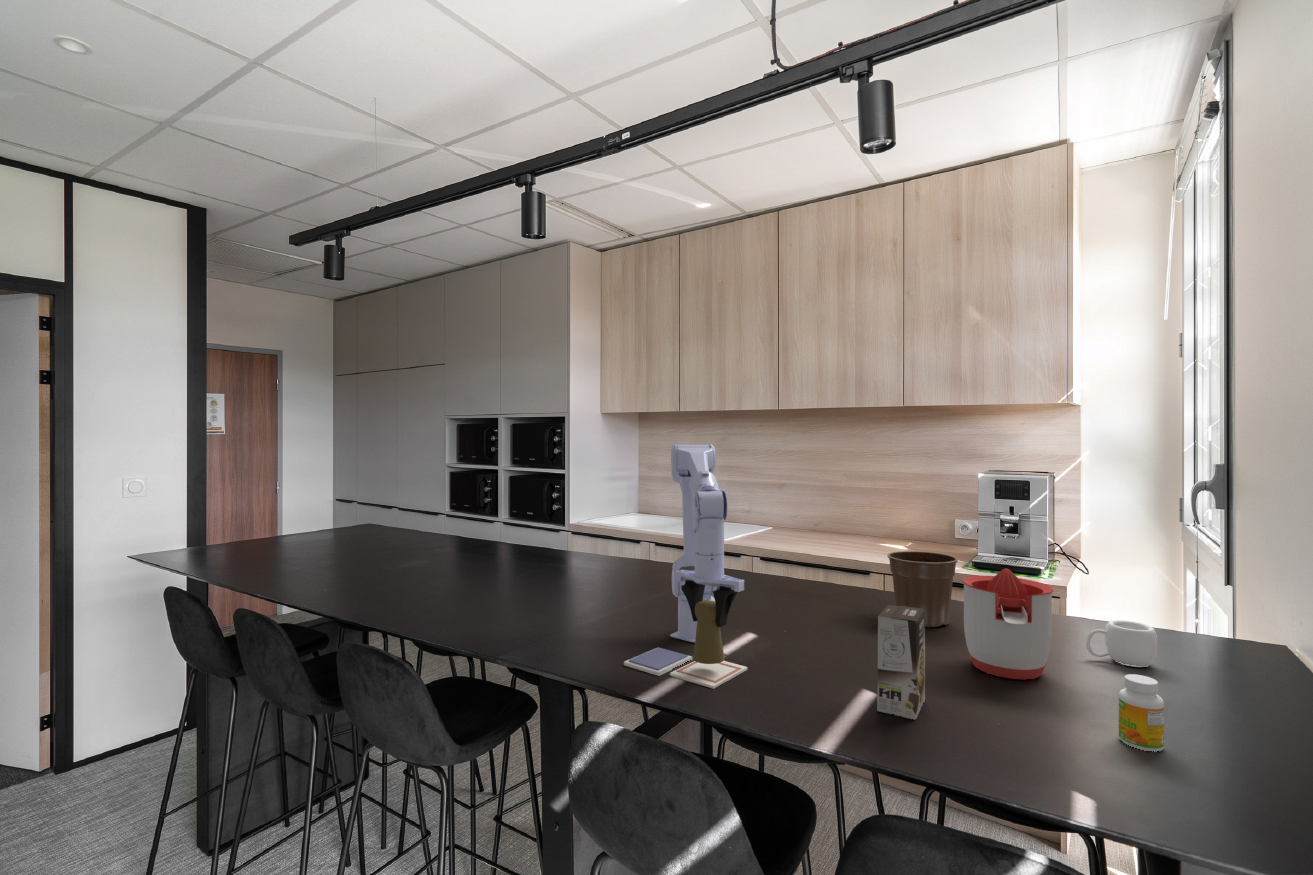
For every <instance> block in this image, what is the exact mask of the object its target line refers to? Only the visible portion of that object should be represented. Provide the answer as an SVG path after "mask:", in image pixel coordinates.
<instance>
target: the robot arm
mask: <svg viewBox="0 0 1313 875" xmlns="http://www.w3.org/2000/svg"><path fill="white" fill-rule="evenodd" d="M670 456H671V457H670V463H671V464H670V466H671V477H672V481H673V482H675V483H677V484H678V485H679V486H680V490H681V496H682V497H681V500H682V529H683V530H682V536H683V538H682V539H683V554H682V555H681V556H679V557H678V558H676V559H675V561H674V562H673V564H672V565H671V566H672V568H671V569H672V572H671V590H672V594H673V595H674V597H677V608H678V609H677V624H678V625H677V629H678V630H677V631H676V632H673V633H671V634H670V637H671V638H674V639H678V640H683V641H686V642H690V643H694V644H695V638H696V629H697V620H698V619H697V617H696V616H695V606H696V604H697V603H698V602H700V601H715V603H716V621H717V627H720V628H722V627H724V626H726V624H727V621H728V616H729V613H730V610H731V606H732V604H733V602H734V600H735V598H736V596H737V594H738V593H740V592H742V591H745V579H741V578H736V577H733V576H730V575H726V574H725V521H726V520H727V518H728V508H729V507H728V506H729V504H728V497H727V493H726V491H725V490H724V489H720V487H719V483H718V480H717V478H716V475H714V470H715V468H716V459H717V458H716V448H715V446H714V445H713V444H711V443H709V444H677V443H674V444H673V445H672V446H671V454H670ZM687 567H689V568H687ZM692 567H693V568H692ZM717 588H718V589H717Z"/></svg>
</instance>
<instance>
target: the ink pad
mask: <svg viewBox="0 0 1313 875" xmlns="http://www.w3.org/2000/svg"><path fill="white" fill-rule="evenodd" d="M690 660H691V661H693V656H692V655H688V654H684V653H680V652H676V651H674V650H673V651H672V650H669V649H666V648H662V647H656V648H653V649H651V650H648V651H645V652H643V653H642V654H639V655H637V656H634V657H632V658H630V659H627V660H625V661H623V666H625V667H629V668H632V669H635V670H638V671H641V672H644V673H647V674H652V675H654V676H657V677H660V676H661V675H662V676H663V675H664V674H667V673H668V672H670V671H672V669H673V668H675V667H677V666H679V667H680V665H681V666H683V665H685V664H686V663H685V662H687V661H689V662H691V661H690ZM684 663H685V664H684ZM687 663H688V662H687ZM682 664H683V665H682ZM677 668H678V667H677ZM675 669H676V668H675ZM673 670H674V669H673Z"/></svg>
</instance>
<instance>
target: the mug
mask: <svg viewBox="0 0 1313 875" xmlns="http://www.w3.org/2000/svg"><path fill="white" fill-rule="evenodd" d="M1104 629H1105V630H1104ZM1104 629H1101V628H1099V629H1093V630H1092V631H1091V630H1090V632H1089V633H1088V634H1087V637H1086V640H1085V645H1086V649H1087V651H1088V652H1089V653H1090V655H1092V656H1094V657H1097V658H1102V657H1104V658H1105V657H1107V656H1109V658H1111V660H1112V659H1113V660H1115V661H1117V662H1121V663H1123V664H1129V665H1136V666H1147V665H1150V666H1152V665H1153V663H1154V661H1155V659H1156V657H1157V654H1158V645H1159V644H1158V636H1157V632H1156V630H1155V628H1154V627H1153V626H1150V625H1147V624H1145V623H1142V622H1137V621H1131V620H1125V619H1121V620H1120V619H1115V620H1109V621H1108V622H1107V624H1106V626H1105V628H1104ZM1095 634H1103V635H1104V641H1105V646H1106V650H1107V651H1105V652H1103V653H1102V652H1101V653H1100V652H1099V653H1098V652H1095V651H1094V650H1093V649H1092V647H1091V639H1092V637H1093V636H1094V635H1095ZM1113 660H1112V661H1113Z"/></svg>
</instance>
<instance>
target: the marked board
mask: <svg viewBox="0 0 1313 875" xmlns="http://www.w3.org/2000/svg"><path fill="white" fill-rule="evenodd" d="M745 671H748V667H747V666H745V665H740V664H737V663H733V662H730V661H726V660H724V661H723V662H721V663H717V664H702V663H698V662H696V661H694V660H693V661H692V662H690V663H687V664H686V665H685V664H684V666H683V665H682V666H681V667H680V668H679V667H678V669H677V668H676V669H675V670H673V671H671V672H669V676H671V677H673V678H677V679H680V680H684V681H686V682H689V683H693V684H697V685H700V686H703V687H707V688H710V689H713V690H714V689H716V688H717V687H719V686H720V685H723V684H725V683H726V682H728V681H730V680H732V679H733V678H735V677H737V676H739V675H740V674H742V673H744V672H745Z"/></svg>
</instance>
